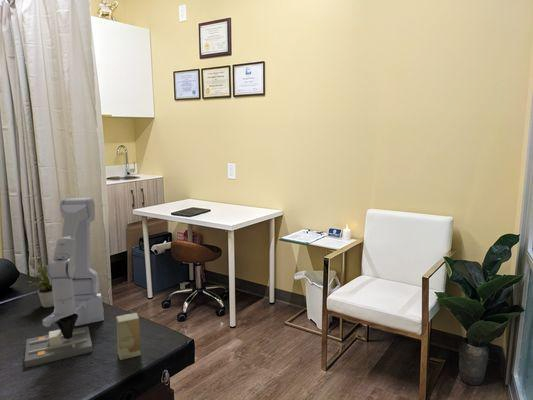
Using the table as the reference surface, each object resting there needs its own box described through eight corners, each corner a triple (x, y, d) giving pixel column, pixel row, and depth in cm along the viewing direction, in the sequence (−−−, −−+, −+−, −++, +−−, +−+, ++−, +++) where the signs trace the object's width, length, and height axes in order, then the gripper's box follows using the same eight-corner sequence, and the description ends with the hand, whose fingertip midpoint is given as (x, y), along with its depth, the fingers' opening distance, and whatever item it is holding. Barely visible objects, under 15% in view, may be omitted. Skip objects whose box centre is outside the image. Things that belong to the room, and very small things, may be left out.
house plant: (18, 306, 159) (13, 265, 156) (54, 293, 170) (50, 256, 167) (37, 315, 151) (32, 273, 148) (73, 302, 162) (69, 262, 159)
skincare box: (119, 360, 122) (116, 322, 119) (117, 353, 125) (114, 316, 123) (142, 355, 124) (139, 317, 122) (139, 348, 128) (136, 311, 126)
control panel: (88, 331, 139) (88, 324, 138) (92, 351, 127) (91, 343, 126) (27, 345, 131) (26, 337, 130) (25, 367, 118) (24, 359, 118)
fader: (61, 338, 130) (60, 329, 130) (61, 344, 127) (60, 335, 126) (50, 340, 129) (49, 331, 128) (49, 347, 125) (48, 338, 125)
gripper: (73, 286, 135) (77, 325, 137) (33, 304, 122) (38, 346, 124) (89, 289, 132) (93, 328, 135) (50, 308, 119) (55, 351, 121)
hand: (68, 337), depth 129 cm, fingers closed
